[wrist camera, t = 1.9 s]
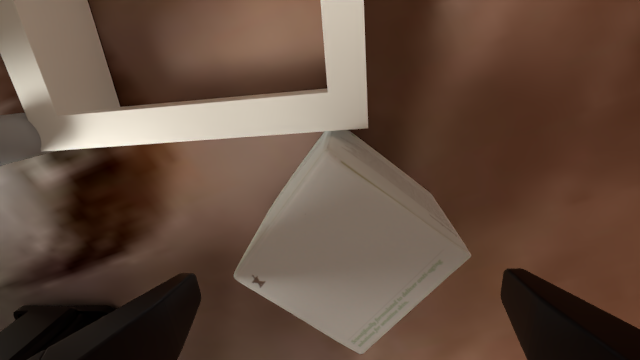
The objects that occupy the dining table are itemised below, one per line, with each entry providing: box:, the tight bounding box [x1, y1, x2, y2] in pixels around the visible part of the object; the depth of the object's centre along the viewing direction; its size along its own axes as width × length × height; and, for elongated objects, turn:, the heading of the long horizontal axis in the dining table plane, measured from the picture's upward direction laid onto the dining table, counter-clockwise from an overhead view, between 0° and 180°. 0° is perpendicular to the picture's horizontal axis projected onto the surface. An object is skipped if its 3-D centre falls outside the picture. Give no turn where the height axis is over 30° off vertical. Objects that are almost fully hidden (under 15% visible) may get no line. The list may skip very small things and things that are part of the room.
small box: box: [234, 130, 471, 354], centre depth 11 cm, size 6×6×5 cm
